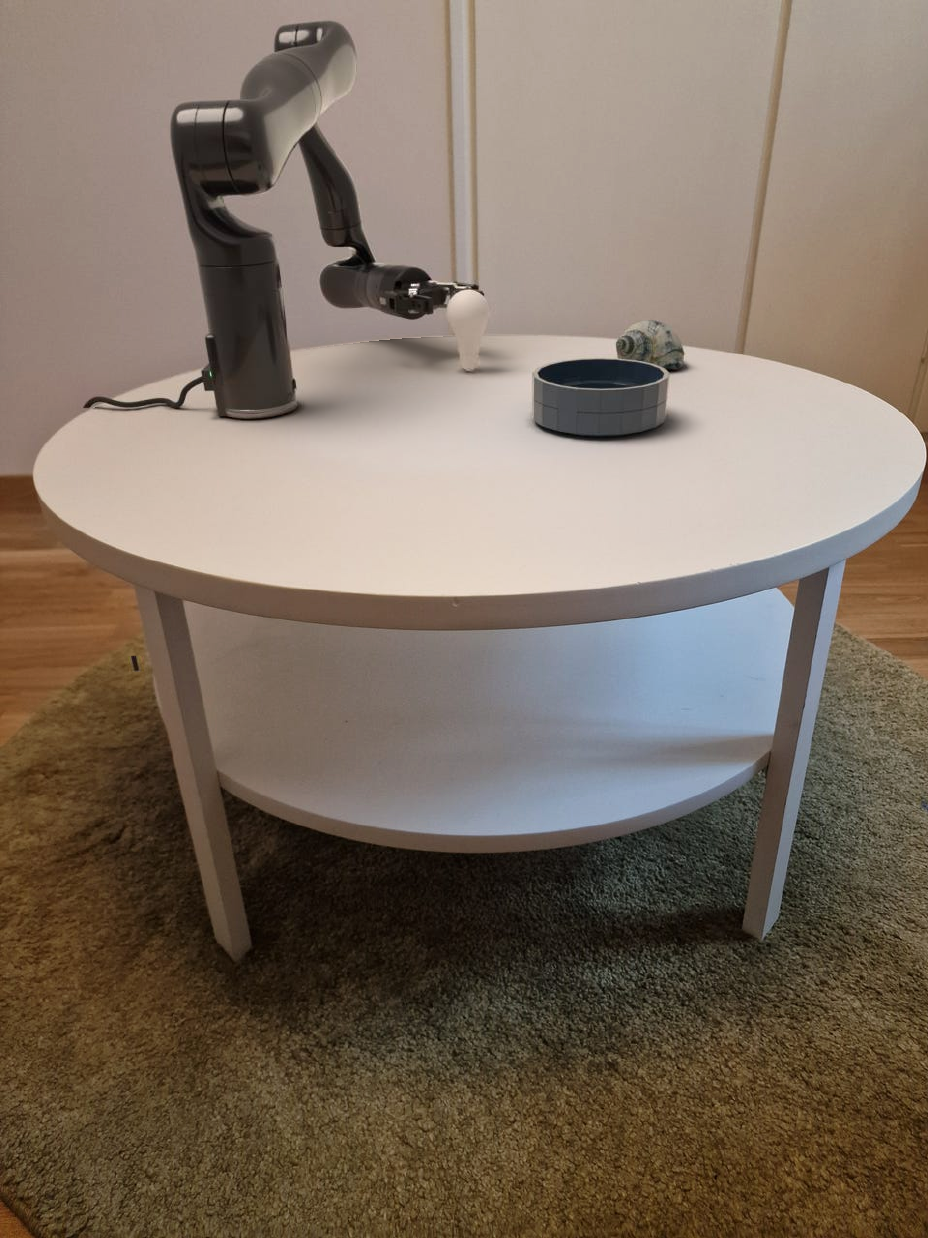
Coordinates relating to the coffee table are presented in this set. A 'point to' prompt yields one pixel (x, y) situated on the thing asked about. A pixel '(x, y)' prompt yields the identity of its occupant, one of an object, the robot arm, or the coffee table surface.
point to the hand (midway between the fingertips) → (457, 302)
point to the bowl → (599, 396)
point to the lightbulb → (468, 324)
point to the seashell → (651, 345)
